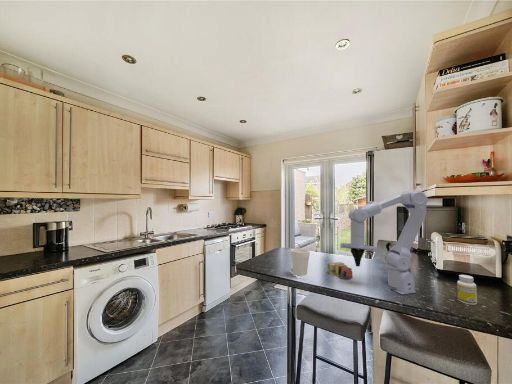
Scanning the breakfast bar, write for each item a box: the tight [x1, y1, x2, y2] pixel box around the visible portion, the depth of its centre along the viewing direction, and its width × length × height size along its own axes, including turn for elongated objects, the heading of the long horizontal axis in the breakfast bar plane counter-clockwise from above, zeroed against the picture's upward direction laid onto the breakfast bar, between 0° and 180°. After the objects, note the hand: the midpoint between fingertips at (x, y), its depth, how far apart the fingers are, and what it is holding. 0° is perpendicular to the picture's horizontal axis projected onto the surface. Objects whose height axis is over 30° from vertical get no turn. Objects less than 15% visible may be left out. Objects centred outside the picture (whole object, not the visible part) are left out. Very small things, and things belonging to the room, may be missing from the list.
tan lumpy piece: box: [334, 263, 347, 275], centre depth 109 cm, size 3×5×5 cm, turn 107°
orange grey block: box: [340, 265, 353, 277], centre depth 108 cm, size 10×3×4 cm, turn 17°
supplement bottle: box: [456, 274, 478, 306], centre depth 85 cm, size 5×5×10 cm
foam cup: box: [290, 247, 310, 276], centre depth 112 cm, size 10×9×13 cm
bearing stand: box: [327, 261, 353, 280], centre depth 109 cm, size 11×10×6 cm
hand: (357, 265), depth 98 cm, fingers closed
